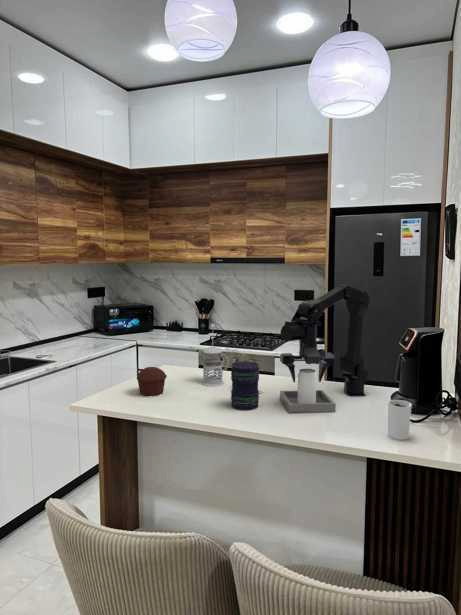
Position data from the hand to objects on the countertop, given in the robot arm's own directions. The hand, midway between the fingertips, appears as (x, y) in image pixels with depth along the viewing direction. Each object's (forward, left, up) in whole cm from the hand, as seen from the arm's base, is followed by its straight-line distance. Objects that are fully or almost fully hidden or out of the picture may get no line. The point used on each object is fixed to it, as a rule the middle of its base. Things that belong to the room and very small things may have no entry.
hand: (306, 382), depth 164 cm
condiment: (+18, -18, -9) cm, 27 cm away
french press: (+31, -31, -9) cm, 45 cm away
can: (0, 0, -8) cm, 8 cm away
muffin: (+56, -19, -9) cm, 60 cm away
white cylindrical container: (-20, +30, -9) cm, 37 cm away
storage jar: (+22, -1, -9) cm, 24 cm away
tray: (0, 0, -8) cm, 8 cm away
